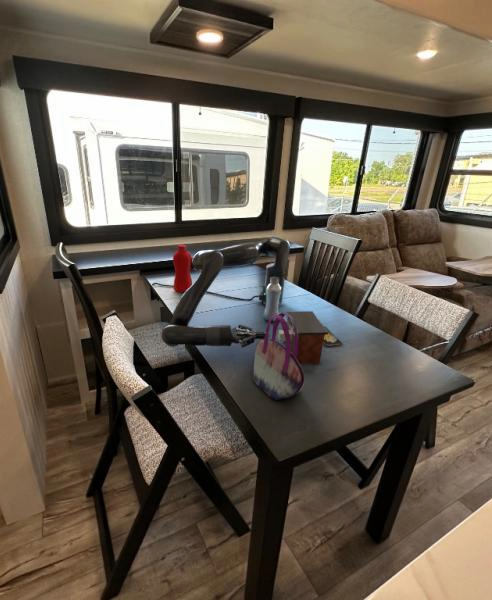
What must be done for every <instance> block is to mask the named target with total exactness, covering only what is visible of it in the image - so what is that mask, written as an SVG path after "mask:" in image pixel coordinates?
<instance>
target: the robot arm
mask: <svg viewBox="0 0 492 600" xmlns="http://www.w3.org/2000/svg"><path fill="white" fill-rule="evenodd" d="M290 246H291V245H290V242H289V241H288V240H287V239H283V238H279V237H275V236H274V237H269V238H268V237H267V238H265V239H262V240H259V241H251V242H244V243H238V244H234V245H231V246H227V247H224V248H221V249H203V250H199V251H197V253H195V254H194V256H192V259H193V260H191V266H192V267H193V270H195V272H197V273H198V274H199V275H198V276H197V278H196V280H195V281H194V282H192V286H191V287H190V288H189V289H188V290H187V291H186V292H183V294H182V296H181V297H180V299H179V300H178V302H177V304H176V306H175V308H174V310H173V312H172V318H171V320H170V322H169V325H167V326H165V327H164V328H163V329H162V331H161V334H160V337H161V340H162V341H163V343H164V344H165V345H166V346H168V347H171V348H173V347H178V346H180V345H189V346H190V345H191V346H193V347H194V346H197V347H198V346H199V347H201V346H202V347H204V346H206V347H231V346H232V344H237V345H238V344H239V345H240V346H241V348H247V347H248V346H250V345H252V344H254V343H255V341H256V340H263V339H265V333H266V331H255V330H253V328H252V327H248V326H246V325H243V324H238V326H237V327H233V328H232V326H231V324H219V325H218V324H217V325H216V324H212V325H211V324H210V325H196V326H195V325H194V326H191V325H189V324H190V323H191V321H192V319H193V318H194V315H195V313H196V311H197V309H198V307H199V305H200V303H201V301H202V299H203V298H204V296H205V294H206V293H207V294H210V295H214V296H220V297H224V298H227V299H234V300H240V301H249V302H250V301H253V300H254V299H255V298H258V300H259V301H261V304H263V305H264V306H266V301H267V300H266V299H267V295H266V288H267V286H268V285H269V284H270V283H271V282H270V278H271V277H278V278H279V283H278V284H279V285H280V287H281V294H280V298H279V303H278V308H280V307H282V305H283V299H284V298H283V297H284V288H285V279H286V271H287V267H288V263H289V256H290V250H291V249H290V248H291V247H290ZM261 257H269V258H274V262H273V263H269V264H266V267H265V279H264V285H263V286H262V291H261V292H260V294H258V295H253V296H252V297H251V298H241V297H237V296H236V297H235V296H230V295H225V294H222V293H217V292H212V291H208V290H209V288H210V287H211V286H212V284H213V283H214V281H215V280H216V279H217V277H218V276H219V274H220V273H221V271H222V269H223V268H235V267H243V266H244V267H245V266H247V265H251V264H254V263H256V262H257V261H258V260H259V258H261ZM151 285H152V286H154V285H158V286H161V287H170V288H174V284H173V285H172V284H163V283H159V282H153V283H152V284H151Z"/></svg>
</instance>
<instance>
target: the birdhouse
mask: <svg viewBox="0 0 492 600" xmlns="http://www.w3.org/2000/svg"><path fill="white" fill-rule="evenodd" d="M285 314H289V315H290V316H292V318H293V319H291V318H290V317H289V316H287V315H286V319H285V321H286V323H287V326H288V329H289V330H291V331H292V332H293V338H292V341H291V350H290V352H291V353H292V354H293V351H294V341H295V326H296V329H297V336H298V353H297V360H298V362H299V364H300V365H308V364H309V365H312V364H314V365H315V364H316V365H318V364H320V363H321V359H322V353H323V348H324V343H323V342H324V336H325V334H328V331H327V330H326V329H325V327H326V326H325V325H324V324H323V323H322V322H321V321H320V319H319V318H318V317H317V315H316V314H315V313H314V312H313V311H310V310H308V311H307V310H306V311H305V310H304V311H303V310H302V311H299V310H297V311H286V312H285ZM293 320H294V321H293ZM294 323H295V326H294ZM324 326H325V327H324ZM284 343H285V345H286V341H284Z"/></svg>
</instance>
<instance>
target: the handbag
mask: <svg viewBox="0 0 492 600" xmlns="http://www.w3.org/2000/svg"><path fill="white" fill-rule="evenodd" d="M285 316H286V317H287V316H289V317H290V318H291V319H293V318H292V316H290V315H289V314H286V312H285V313H284V312H279V315H273V316H272V317H271V318H270V319H269V321H268V320H267V324H266V328H265V339H260V341H259V342H258V343H257V346H256V349H255V353H254V361H253V380H254V383H255V384H256V385H257V386H258V387H259V388H260V389H261V390H262V391H264V393H265V394H267V396H268V397H270V398H271V399H272V400H275V401H280V400H283V399H284V400H285V399H288V398H290V397H294V396H296V395H298V394H299V393H301V391H302V390H303V388H304V386H305V379H306V377H305V373H304V370H303V367H302V364H299V362H298V360H297V353H298V336H297V329H296V326H295V323H294V326H295V341H294V351H293V354H292V353H291V352H290V350H291V339H290V334H289V329H288V326H287V323H286V319H285V318H284V317H285ZM274 317H276V320H275V321H273V325H272V332H271V338H269V333H270V328H271V323H272V321H271V320H272V319H273V318H274ZM293 321H294V320H293ZM279 325H281V329H282V330H283V332H284V335H285V338H286V344H285V345H284V344H282V343H281V342H280V341H279V340H278V341H277V340H276V339H277V333H278V327H279Z"/></svg>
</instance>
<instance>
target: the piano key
mask: <svg viewBox="0 0 492 600" xmlns="http://www.w3.org/2000/svg"><path fill="white" fill-rule="evenodd" d="M289 334H290V339H291V341H292V338H293V332H292V331H291V330H289ZM277 338H278V342H285V341H286V338H285V335H284V332H283V329H277Z"/></svg>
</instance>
